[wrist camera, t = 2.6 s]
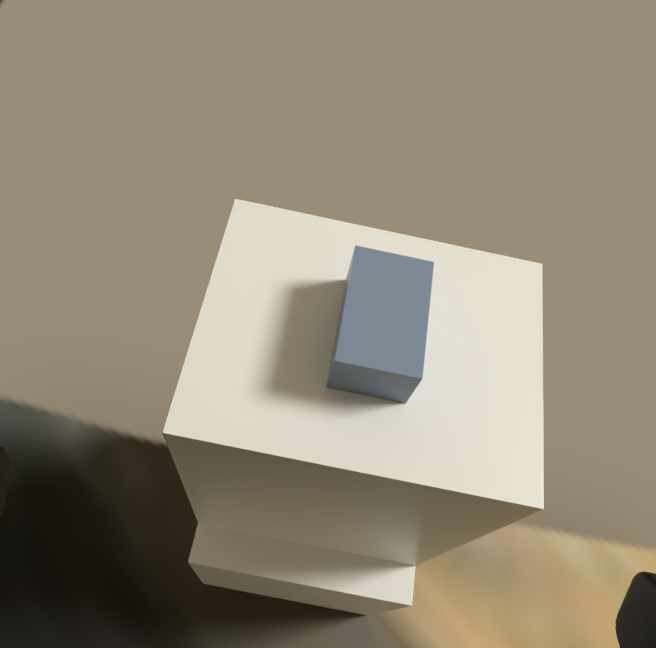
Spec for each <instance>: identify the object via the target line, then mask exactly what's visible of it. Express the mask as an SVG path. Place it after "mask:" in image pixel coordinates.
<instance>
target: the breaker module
mask: <svg viewBox="0 0 656 648" xmlns="http://www.w3.org/2000/svg"><path fill="white" fill-rule="evenodd" d="M542 303H543V302H542V264H540V263H535V262H530V261H526V260H521V259H516V258H512V257H507V256H502V255H498V254H493V253H488V252H483V251H478V250H474V249H469V248H465V247H460V246H455V245H450V244H446V243H441V242H436V241H432V240H427V239H422V238H418V237H412V236H408V235H403V234H399V233H394V232H389V231H384V230H380V229H375V228H370V227H366V226H361V225H356V224H351V223H347V222H342V221H337V220H332V219H328V218H323V217H319V216H314V215H309V214H304V213H300V212H295V211H290V210H285V209H281V208H276V207H271V206H267V205H262V204H257V203H252V202H248V201H243V200H238V199H235V202H234V205H233V208H232V212H231V215H230V218H229V221H228V224H227V227H226V231H225V234H224V237H223V240H222V243H221V247H220V250H219V253H218V256H217V260H216V263H215V266H214V269H213V272H212V276H211V279H210V282H209V285H208V288H207V292H206V295H205V298H204V301H203V304H202V308H201V311H200V314H199V318H198V321H197V324H196V327H195V330H194V333H193V337H192V340H191V343H190V346H189V349H188V353H187V356H186V359H185V362H184V365H183V369H182V372H181V375H180V378H179V381H178V385H177V388H176V391H175V394H174V397H173V401H172V404H171V407H170V410H169V414H168V417H167V420H166V423H165V426H164V430H163V435H164V438H165V440H166V443H167V445H168V448H169V451H170V453H171V456H172V458H173V461H174V463H175V466H176V468H177V471H178V473H179V476H180V478H181V481H182V483H183V486H184V489H185V491H186V494H187V496H188V499H189V501H190V504H191V506H192V509H193V511H194V514H195V516H196V519H197V522H198V526H197V529H196V533H195V537H194V541H193V545H192V548H191V552H190V556H189V560H188V563H189V565H190V566H191V567H192V569H193V570H194V571H195V573H196V574H197V576H198V577H199V578H200V580H201V581H202V583H203V584H207V585H213V586H218V587H223V588H228V589H233V590H238V591H244V592H249V593H254V594H259V595H264V596H269V597H275V598H280V599H285V600H290V601H295V602H300V603H306V604H311V605H316V606H321V607H326V608H332V609H337V610H342V611H347V612H352V613H357V614H363V615H371V614H376V613H380V612H385V611H390V610H394V609H399V608H404V607H408V606H412V599H413V588H414V577H415V566H416V565H418V564H421V563H423V562H425V561H428V560H430V559H432V558H434V557H437V556H439V555H441V554H443V553H446V552H448V551H450V550H452V549H455V548H457V547H459V546H461V545H464V544H466V543H468V542H470V541H473V540H475V539H477V538H480V537H482V536H484V535H486V534H489V533H491V532H493V531H495V530H498V529H500V528H502V527H504V526H507V525H509V524H511V523H513V522H516V521H518V520H520V519H522V518H525V517H527V516H529V515H532V514H534V513H536V512H538V511H541V510H543V509H544V484H543V483H544V479H543V478H544V477H543V476H544V471H543V310H542V308H543V307H542V306H543V305H542Z"/></svg>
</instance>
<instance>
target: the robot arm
mask: <svg viewBox="0 0 656 648" xmlns="http://www.w3.org/2000/svg"><path fill="white" fill-rule="evenodd" d="M8 466H9V454H8V451H7V449H6V448H5V447H4V446H0V516H1V514H2V512H3V510H4V507H5V504H6V499H7V485H8ZM616 634H617V638H618V642H619V645H620V648H656V574H655V573H649V572H640V573H638V574H636V575H635V576H634V578H633V580H632V582H631V584H630V586H629V589H628V591H627V593H626V596H625V598H624V600H623V603H622V605H621V607H620V610H619V612H618V615H617V618H616Z"/></svg>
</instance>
